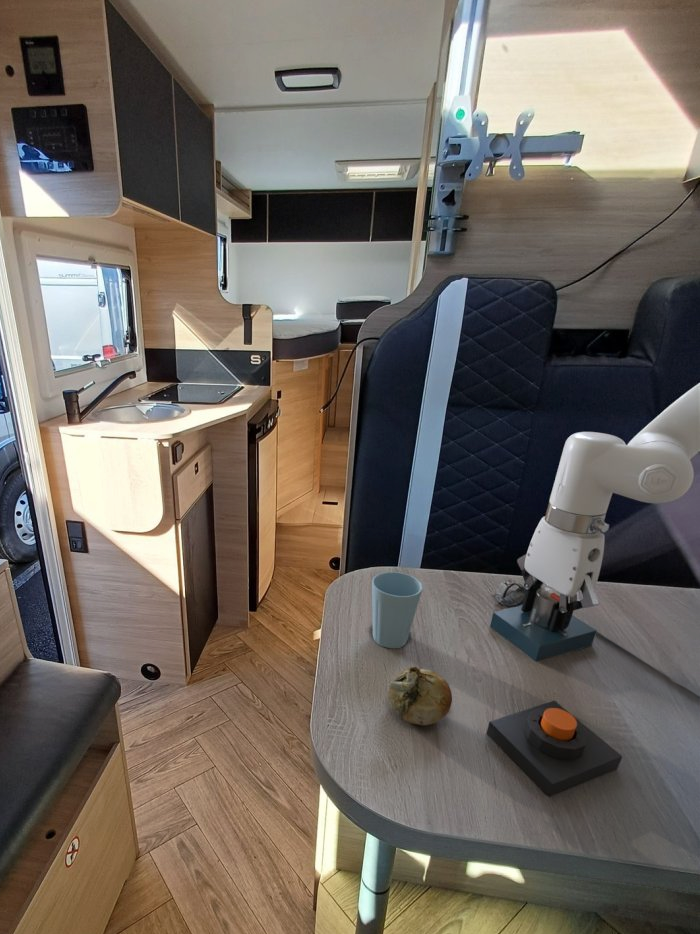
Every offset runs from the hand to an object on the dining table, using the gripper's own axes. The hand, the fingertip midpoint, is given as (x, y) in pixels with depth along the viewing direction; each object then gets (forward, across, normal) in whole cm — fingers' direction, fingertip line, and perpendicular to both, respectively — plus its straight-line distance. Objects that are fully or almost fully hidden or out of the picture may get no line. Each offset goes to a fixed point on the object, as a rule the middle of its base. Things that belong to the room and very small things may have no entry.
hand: (543, 618), depth 85 cm
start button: (0, -19, +18) cm, 26 cm away
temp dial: (0, 0, 0) cm, 0 cm away
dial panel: (+3, 0, 0) cm, 3 cm away
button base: (+3, -19, +18) cm, 26 cm away
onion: (+4, -8, +30) cm, 31 cm away
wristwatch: (+4, +10, -3) cm, 11 cm away
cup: (+4, +8, +24) cm, 25 cm away
